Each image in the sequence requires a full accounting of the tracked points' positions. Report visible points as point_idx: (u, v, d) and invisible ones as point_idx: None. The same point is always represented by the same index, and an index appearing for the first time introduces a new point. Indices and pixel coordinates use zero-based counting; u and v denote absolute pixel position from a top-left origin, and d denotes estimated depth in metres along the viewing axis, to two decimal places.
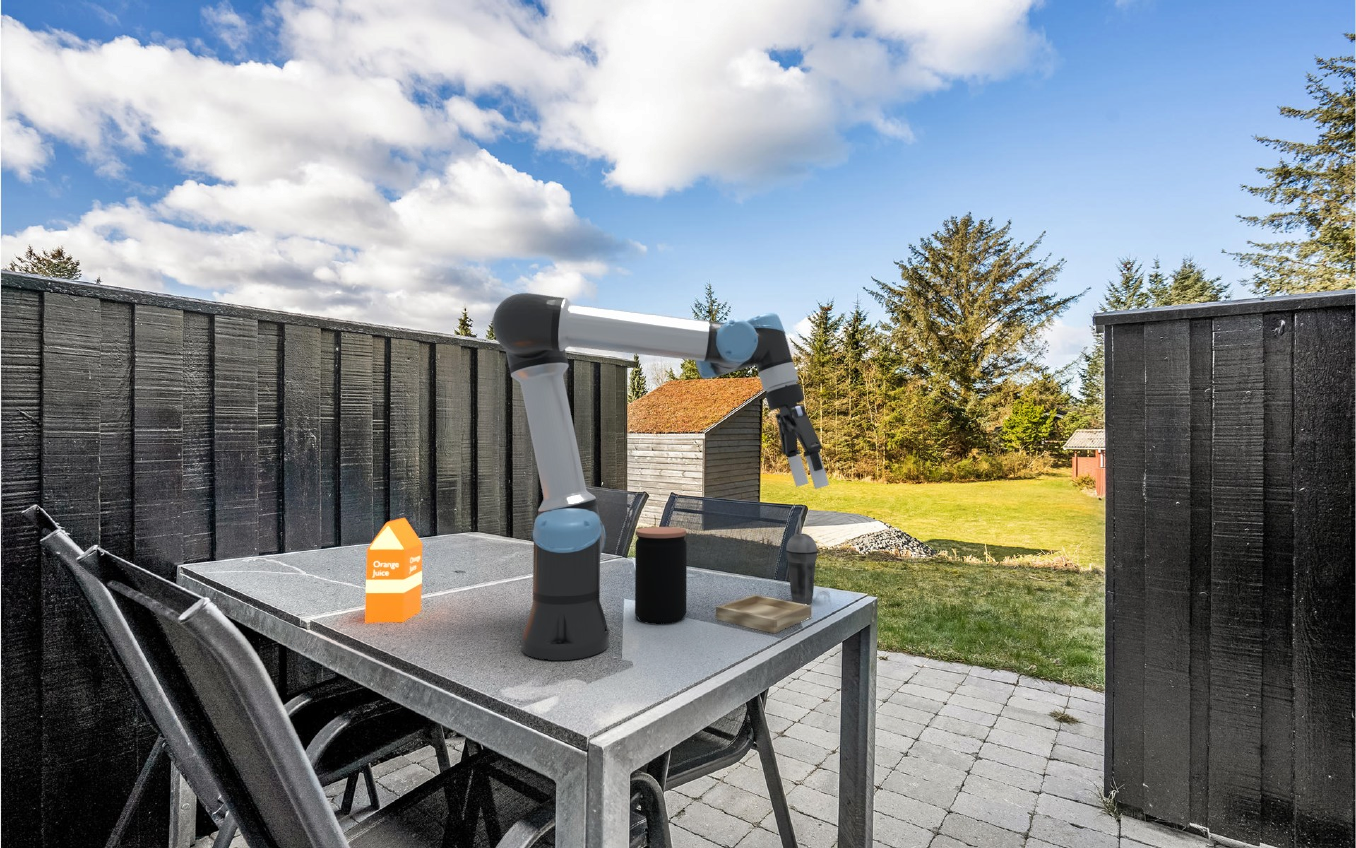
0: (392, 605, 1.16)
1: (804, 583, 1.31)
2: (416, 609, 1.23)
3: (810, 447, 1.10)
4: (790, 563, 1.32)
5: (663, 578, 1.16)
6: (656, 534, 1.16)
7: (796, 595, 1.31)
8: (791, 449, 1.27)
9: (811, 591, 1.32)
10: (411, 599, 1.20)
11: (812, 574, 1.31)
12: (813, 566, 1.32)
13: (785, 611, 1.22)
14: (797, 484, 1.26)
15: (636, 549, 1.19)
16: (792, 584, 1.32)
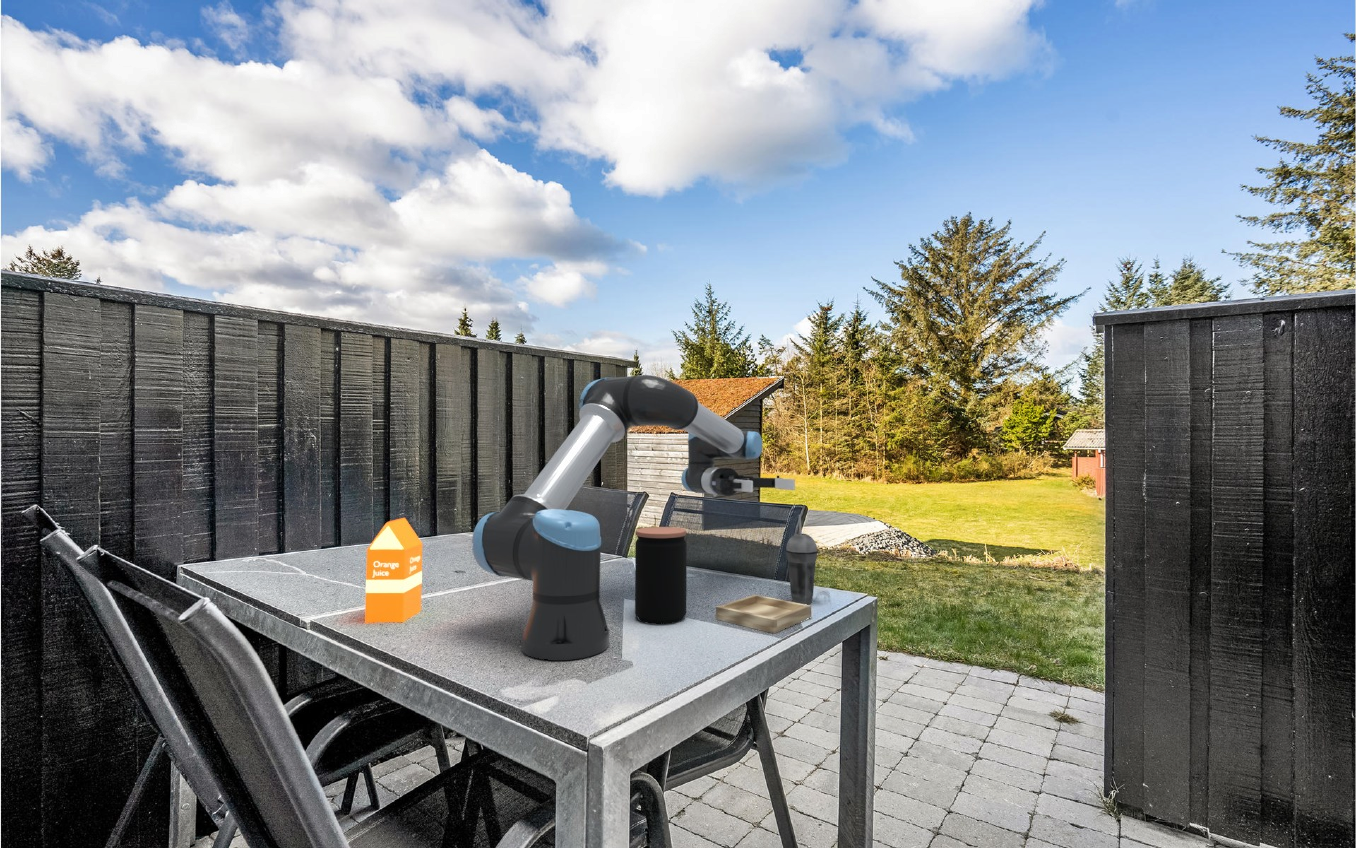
0: (392, 606, 1.16)
1: (804, 583, 1.31)
2: (416, 609, 1.23)
3: None
4: (790, 563, 1.32)
5: (663, 578, 1.16)
6: (656, 534, 1.16)
7: (796, 595, 1.31)
8: None
9: (811, 591, 1.32)
10: (411, 599, 1.20)
11: (812, 574, 1.31)
12: (813, 566, 1.32)
13: (785, 611, 1.22)
14: None
15: (636, 549, 1.19)
16: (792, 584, 1.32)
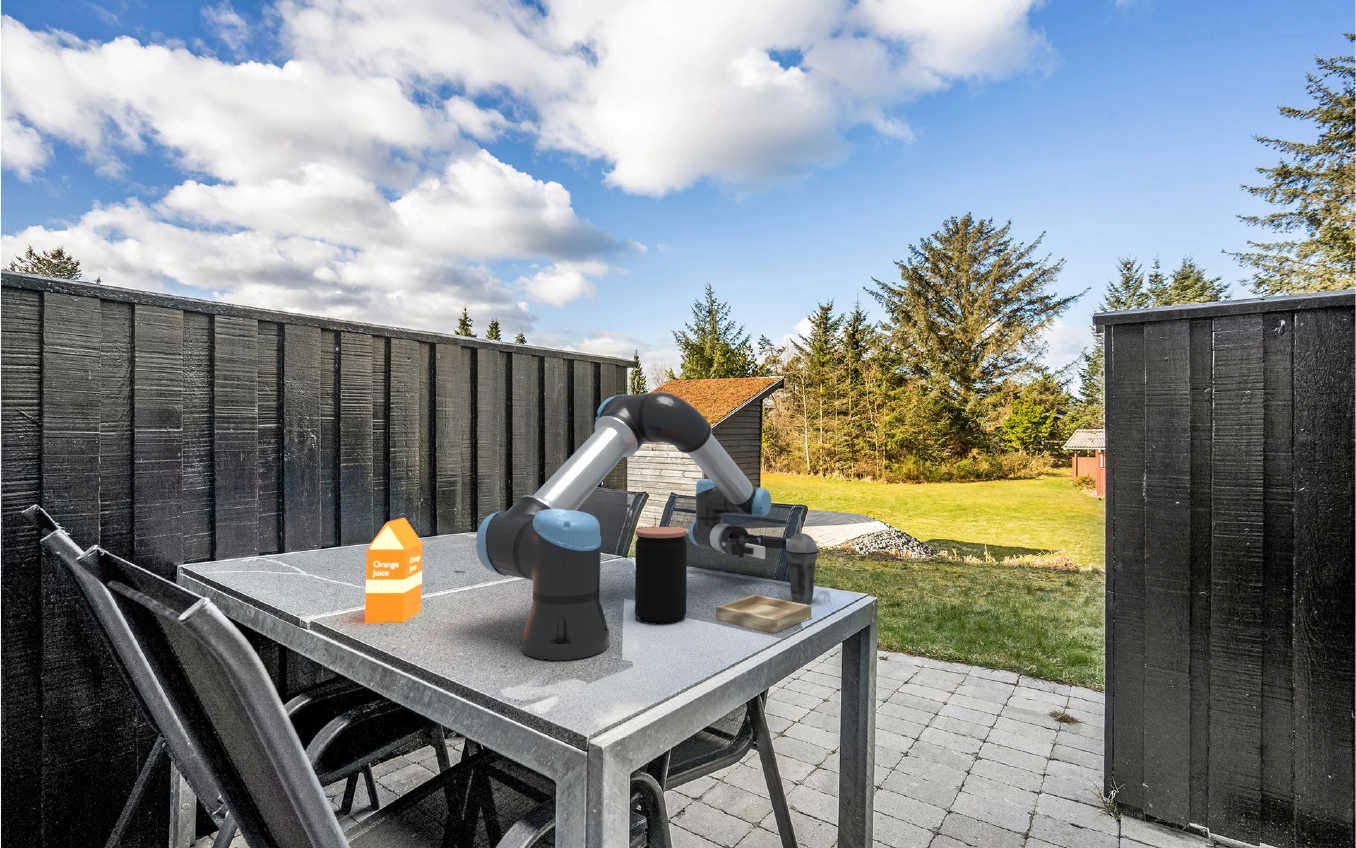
0: (392, 605, 1.16)
1: (804, 583, 1.31)
2: (416, 609, 1.23)
3: None
4: (790, 563, 1.32)
5: (663, 578, 1.16)
6: (656, 534, 1.16)
7: (796, 595, 1.31)
8: None
9: (811, 591, 1.32)
10: (411, 599, 1.20)
11: (812, 574, 1.31)
12: (813, 566, 1.32)
13: (785, 611, 1.22)
14: None
15: (636, 549, 1.19)
16: (792, 584, 1.32)
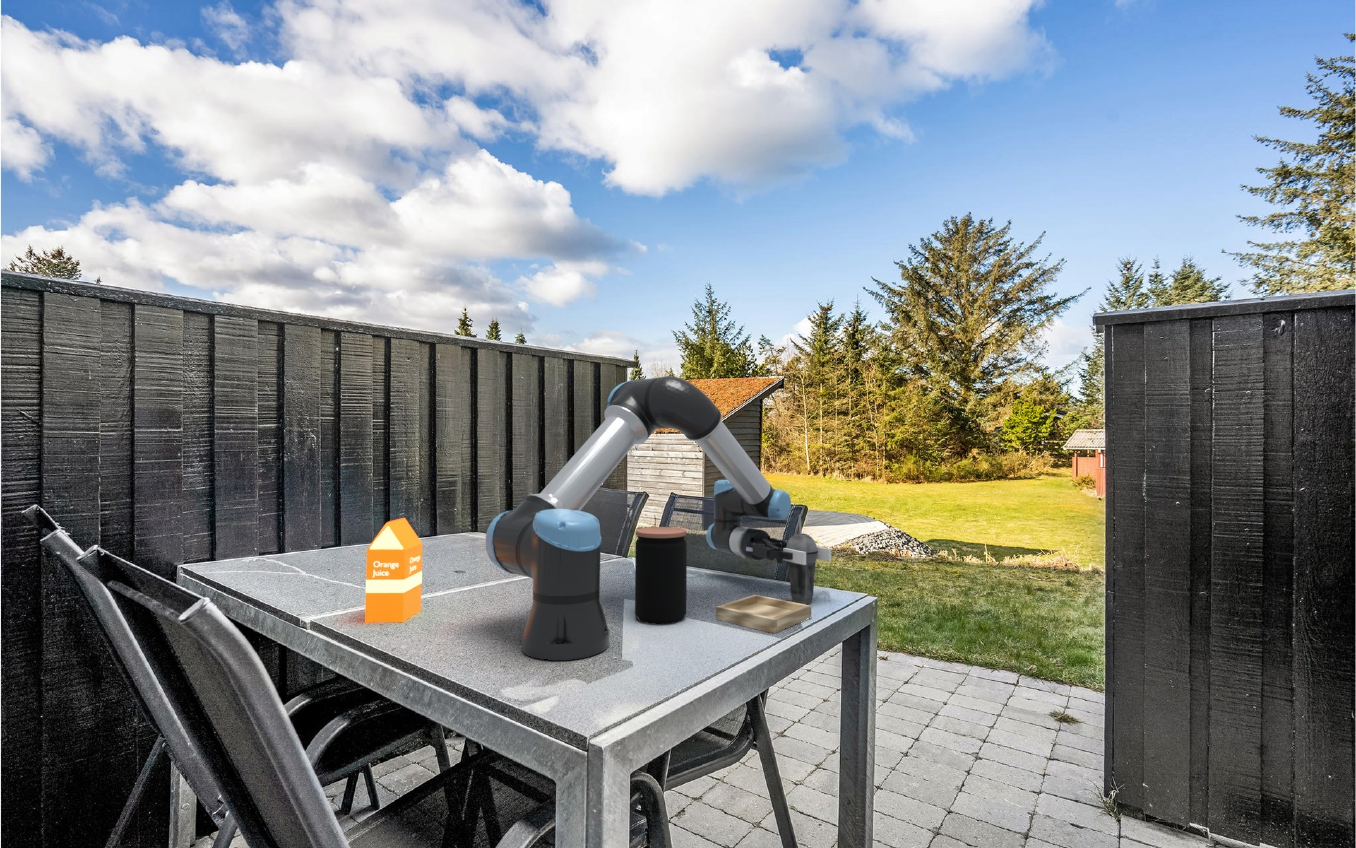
0: (392, 606, 1.16)
1: (804, 583, 1.31)
2: (416, 609, 1.23)
3: None
4: (790, 563, 1.32)
5: (663, 578, 1.16)
6: (656, 534, 1.16)
7: (796, 595, 1.31)
8: None
9: (811, 591, 1.32)
10: (411, 599, 1.20)
11: (812, 574, 1.31)
12: (813, 566, 1.32)
13: (785, 611, 1.22)
14: None
15: (636, 549, 1.19)
16: (792, 584, 1.32)
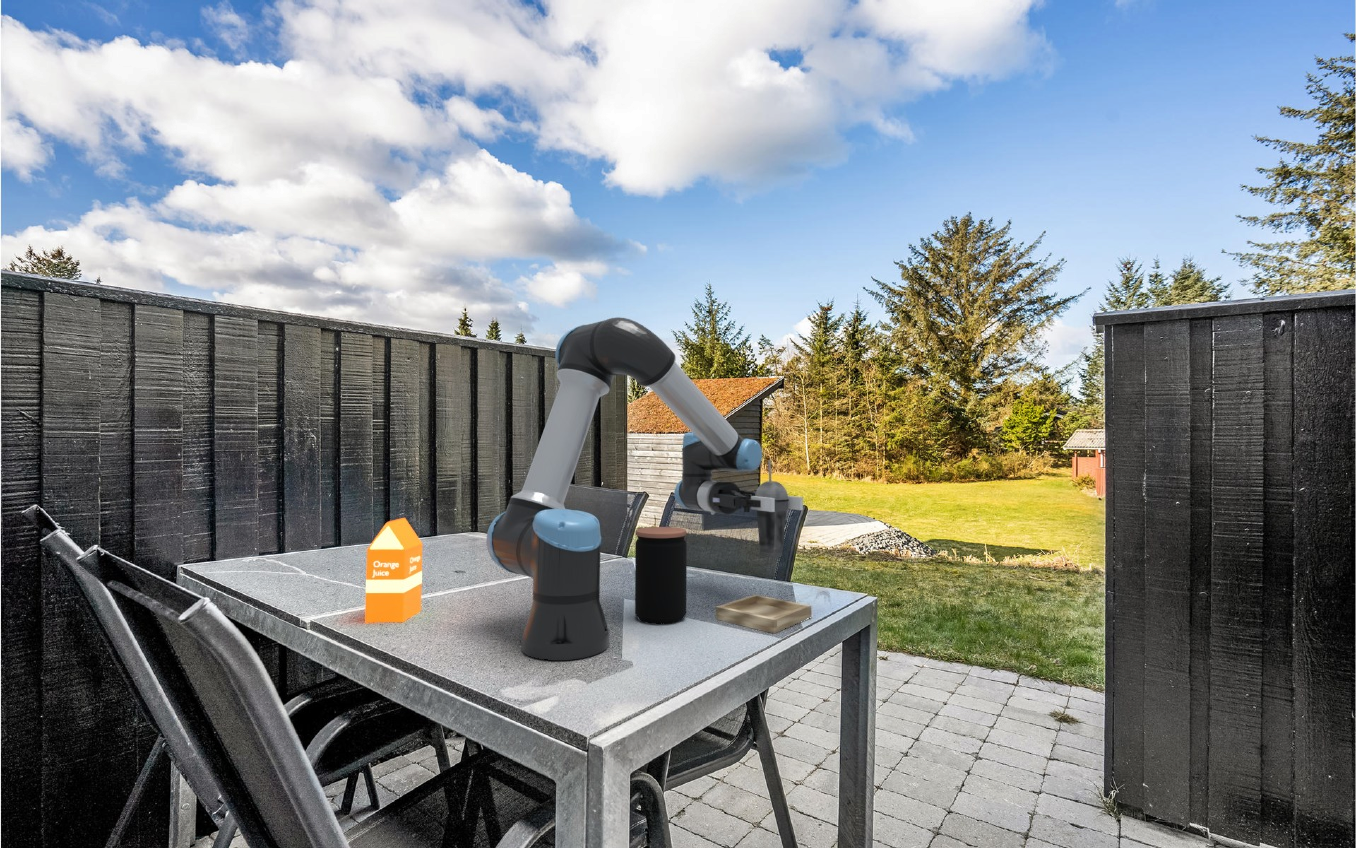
0: (392, 605, 1.16)
1: (773, 533, 1.20)
2: (416, 610, 1.23)
3: None
4: (758, 512, 1.22)
5: (663, 578, 1.16)
6: (656, 534, 1.16)
7: (764, 546, 1.21)
8: None
9: (781, 542, 1.21)
10: (411, 599, 1.20)
11: (782, 524, 1.21)
12: (783, 515, 1.21)
13: (785, 611, 1.22)
14: None
15: (636, 549, 1.19)
16: (760, 535, 1.22)
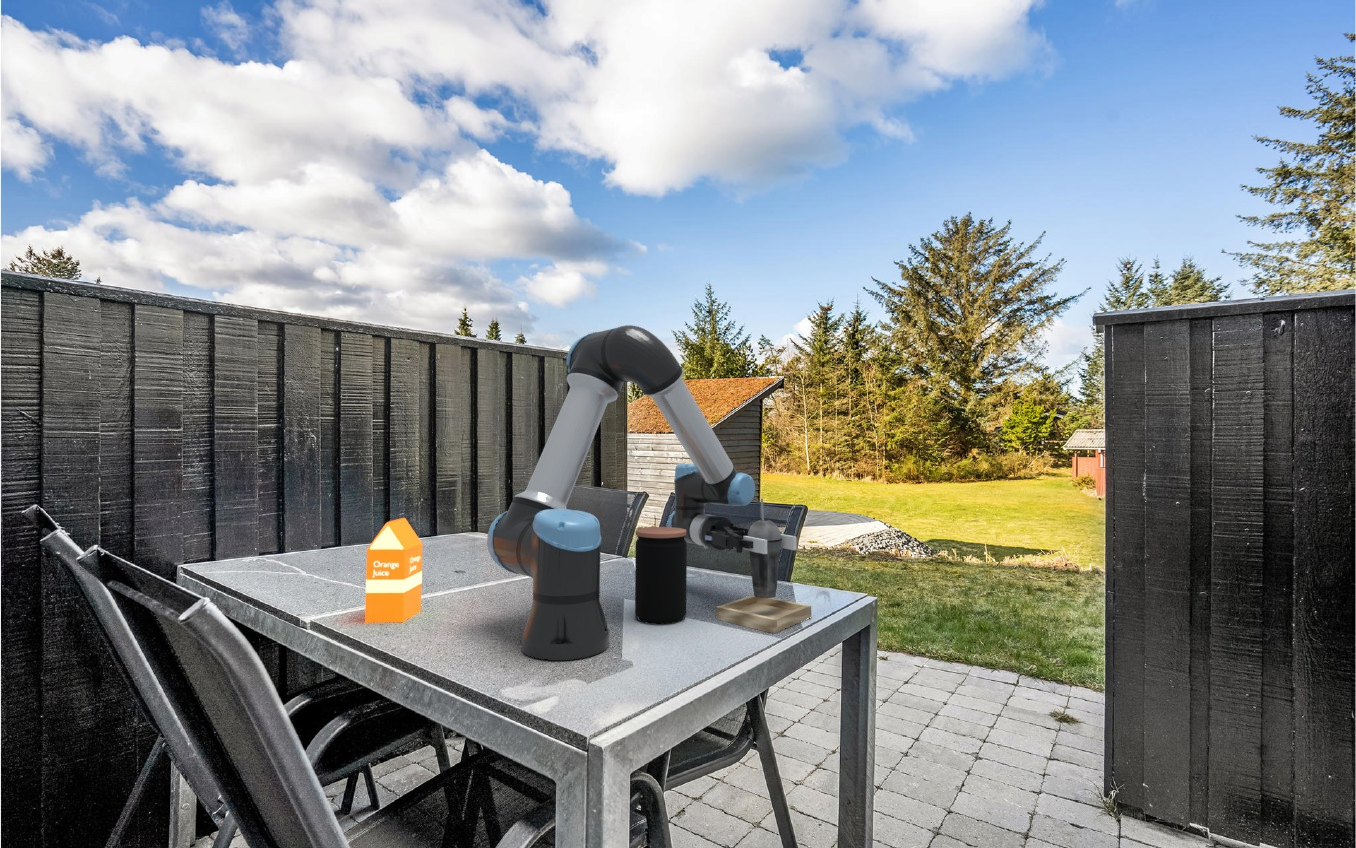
0: (392, 605, 1.16)
1: (767, 574, 1.18)
2: (416, 610, 1.23)
3: None
4: (751, 552, 1.20)
5: (663, 578, 1.16)
6: (656, 534, 1.16)
7: (758, 588, 1.19)
8: None
9: (774, 583, 1.19)
10: (411, 599, 1.20)
11: (775, 564, 1.19)
12: (776, 555, 1.19)
13: (785, 611, 1.22)
14: None
15: (636, 549, 1.19)
16: (753, 575, 1.19)
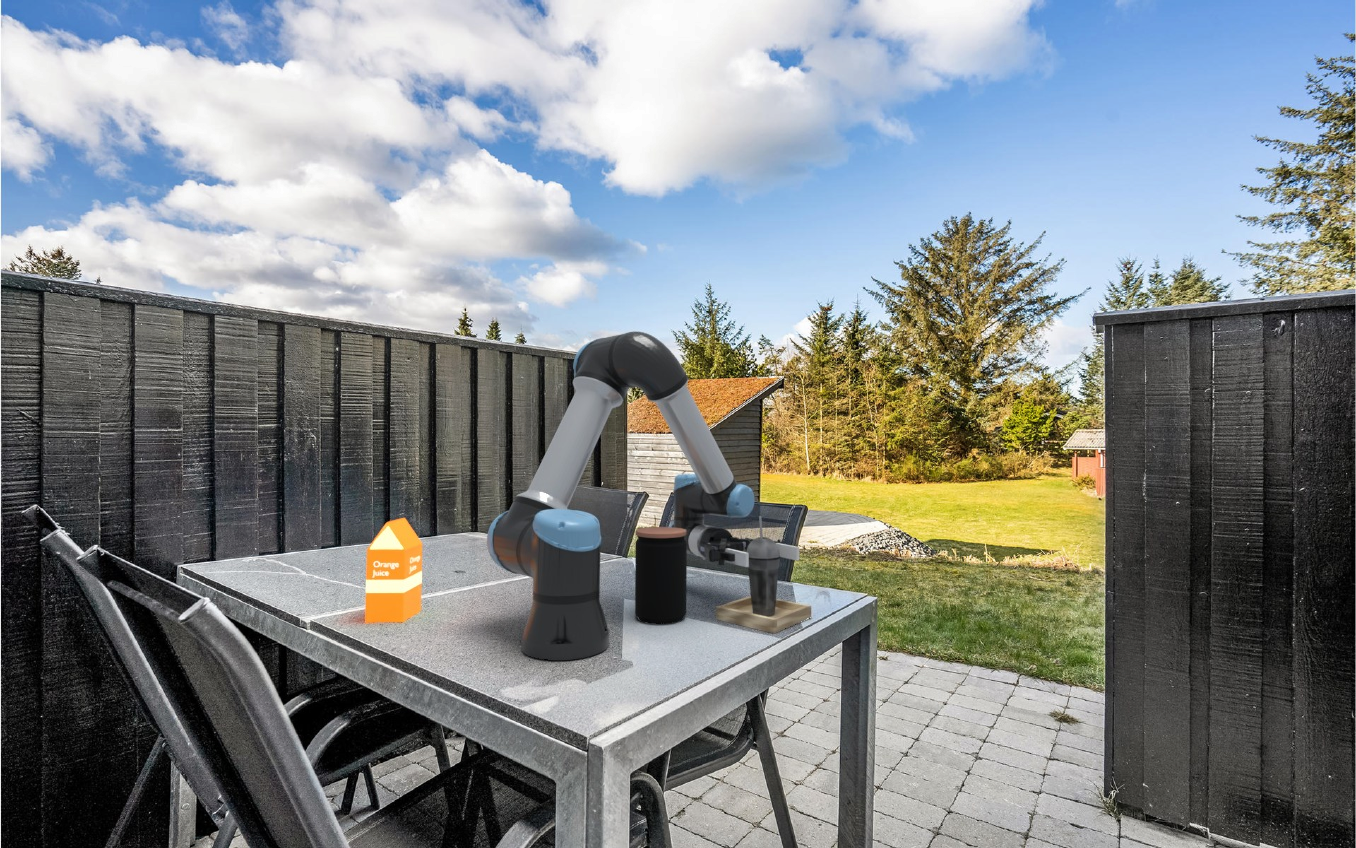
0: (392, 606, 1.16)
1: (765, 593, 1.17)
2: (416, 609, 1.23)
3: None
4: (750, 570, 1.19)
5: (663, 578, 1.16)
6: (656, 534, 1.16)
7: (756, 606, 1.18)
8: None
9: (773, 601, 1.18)
10: (411, 599, 1.20)
11: (774, 582, 1.18)
12: (775, 573, 1.18)
13: (785, 611, 1.22)
14: None
15: (636, 549, 1.19)
16: (752, 594, 1.19)
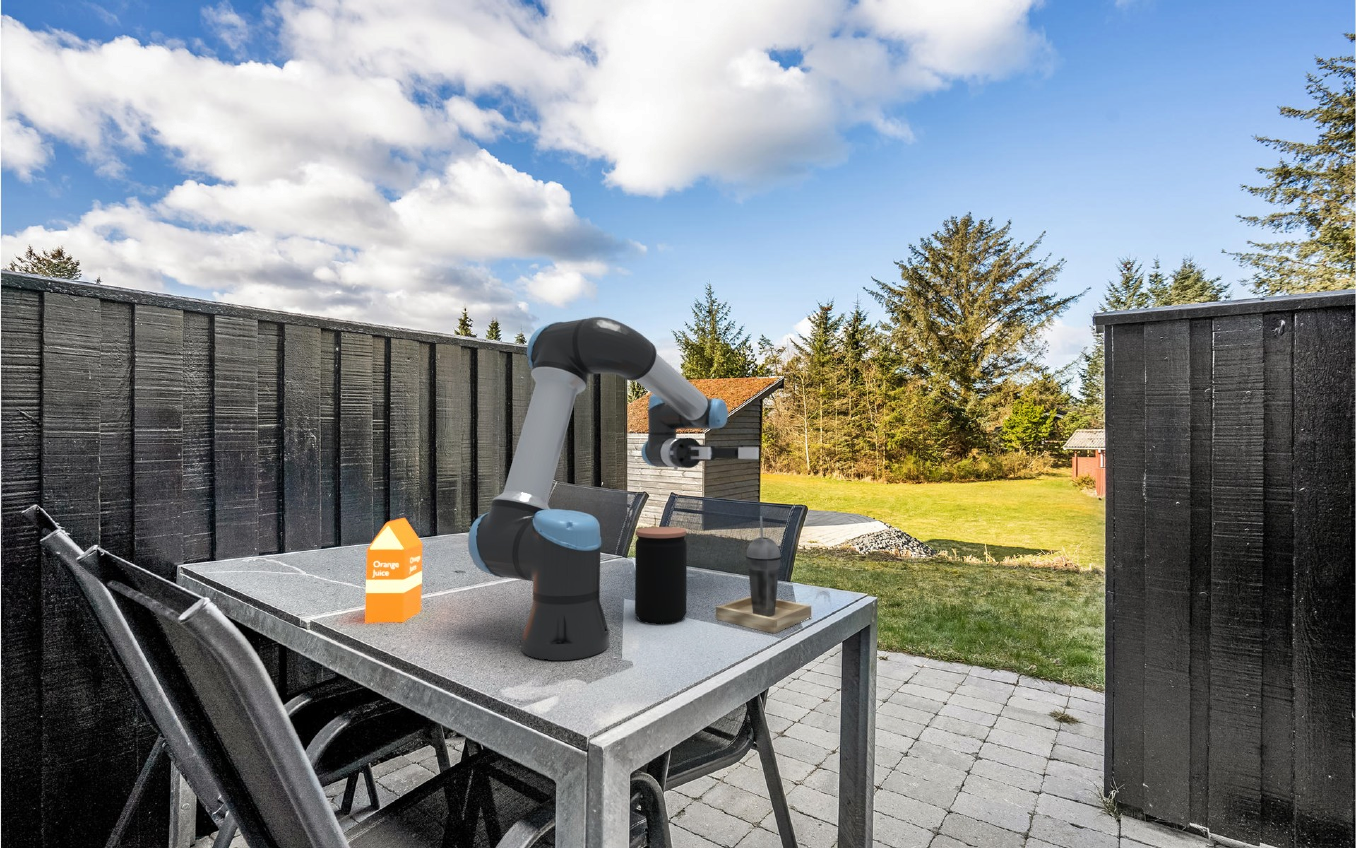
0: (392, 605, 1.16)
1: (766, 593, 1.17)
2: (416, 610, 1.23)
3: None
4: (750, 570, 1.19)
5: (663, 578, 1.16)
6: (656, 534, 1.16)
7: (756, 606, 1.18)
8: None
9: (773, 601, 1.18)
10: (411, 599, 1.20)
11: (774, 583, 1.18)
12: (775, 574, 1.18)
13: (785, 611, 1.22)
14: None
15: (636, 549, 1.19)
16: (752, 594, 1.19)
